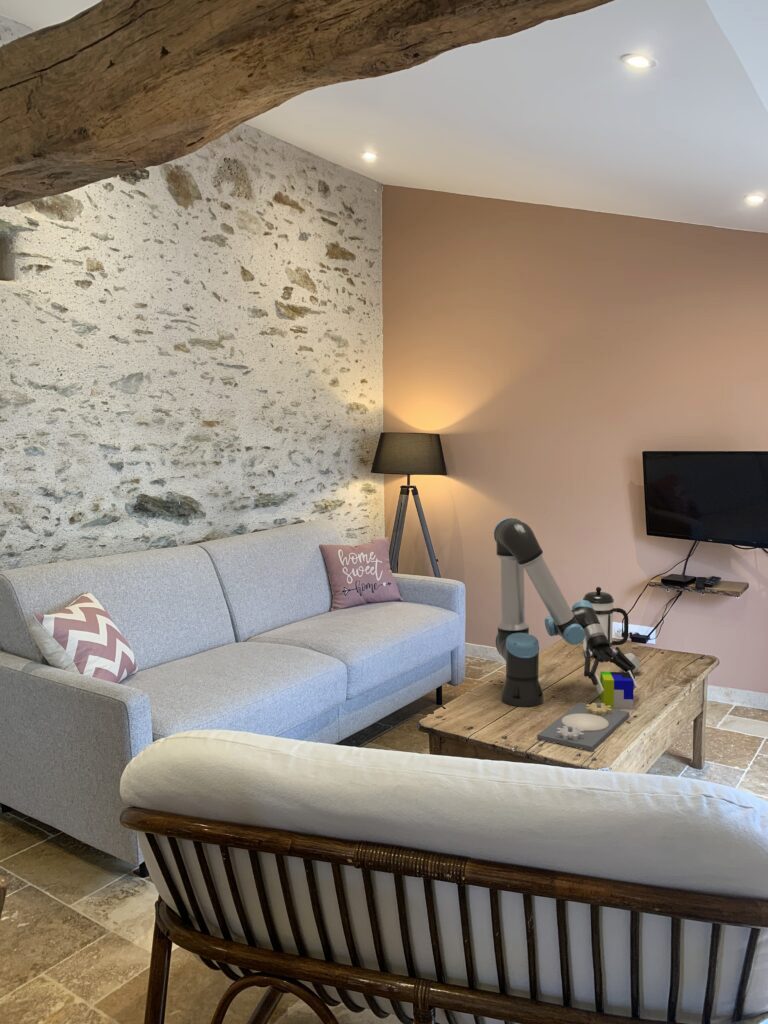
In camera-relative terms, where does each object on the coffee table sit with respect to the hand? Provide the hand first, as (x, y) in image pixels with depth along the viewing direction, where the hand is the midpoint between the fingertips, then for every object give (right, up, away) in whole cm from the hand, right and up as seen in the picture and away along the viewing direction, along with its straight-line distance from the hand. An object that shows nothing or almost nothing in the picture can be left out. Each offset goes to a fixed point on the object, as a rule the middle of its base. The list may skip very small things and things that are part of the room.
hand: (618, 690), depth 291 cm
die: (+15, -1, +36) cm, 39 cm away
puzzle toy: (0, -5, +1) cm, 5 cm away
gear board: (-17, -7, -21) cm, 29 cm away
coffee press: (+10, +2, +62) cm, 63 cm away
